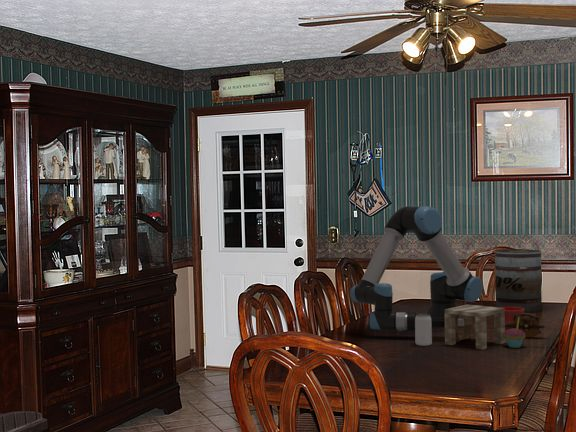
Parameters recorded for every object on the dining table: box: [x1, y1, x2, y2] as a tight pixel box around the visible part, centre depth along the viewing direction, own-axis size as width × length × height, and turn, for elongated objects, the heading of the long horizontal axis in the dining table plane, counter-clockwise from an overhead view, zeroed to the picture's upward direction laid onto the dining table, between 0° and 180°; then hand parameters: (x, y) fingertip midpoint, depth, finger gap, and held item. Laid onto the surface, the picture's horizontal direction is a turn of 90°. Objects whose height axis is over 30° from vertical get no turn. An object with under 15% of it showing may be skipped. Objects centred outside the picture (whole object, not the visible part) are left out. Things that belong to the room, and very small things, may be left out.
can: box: [414, 313, 433, 347], centre depth 315 cm, size 6×6×12 cm
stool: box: [444, 304, 506, 350], centre depth 314 cm, size 17×17×14 cm
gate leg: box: [455, 314, 476, 343], centre depth 321 cm, size 13×4×12 cm, turn 133°
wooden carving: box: [505, 313, 546, 338], centre depth 325 cm, size 16×5×10 cm, turn 70°
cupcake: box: [503, 316, 526, 349], centre depth 307 cm, size 9×8×12 cm
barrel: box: [494, 248, 543, 314], centre depth 399 cm, size 22×22×30 cm
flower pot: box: [500, 307, 524, 331], centre depth 342 cm, size 11×11×10 cm
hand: (464, 322), depth 324 cm, fingers closed on gate leg
